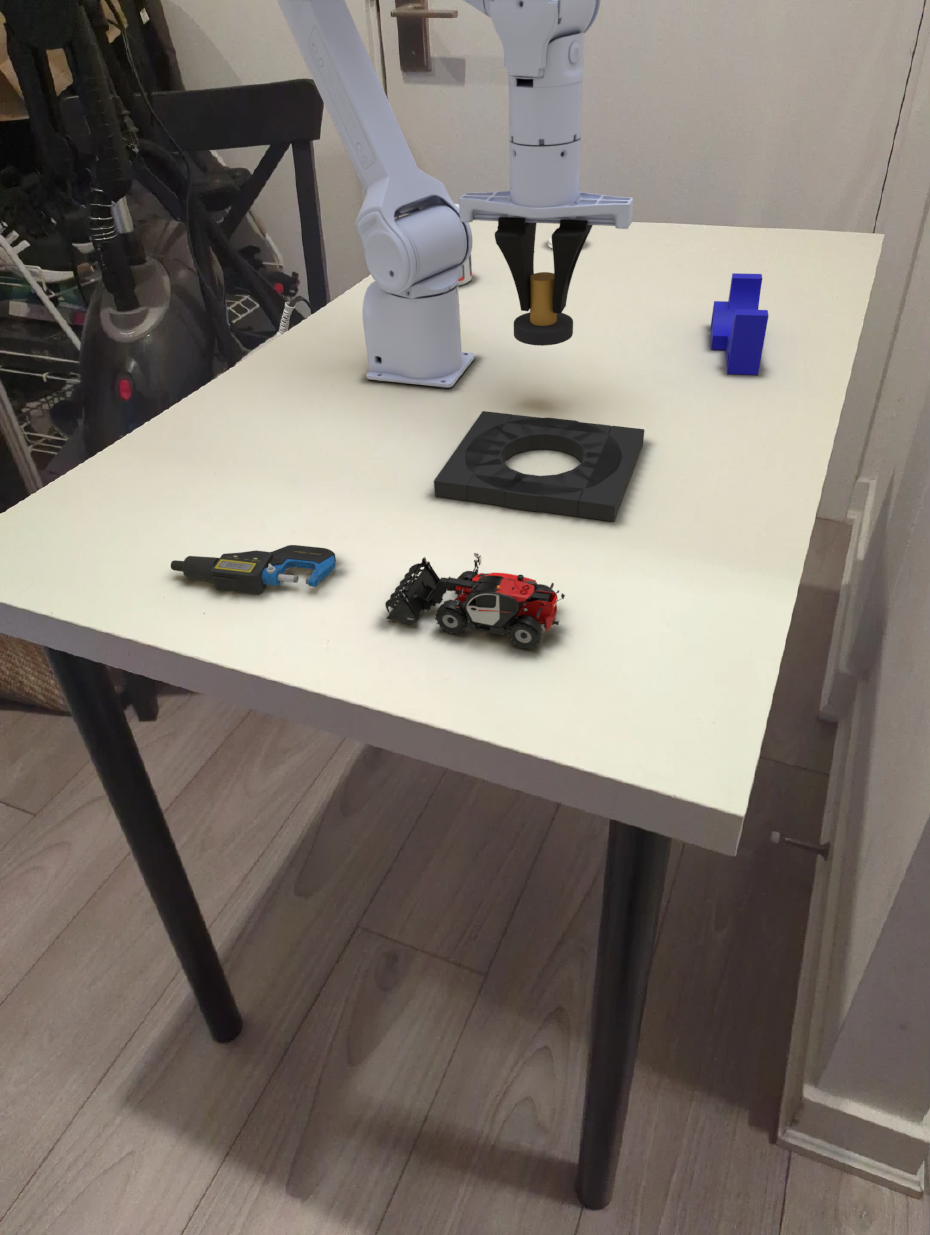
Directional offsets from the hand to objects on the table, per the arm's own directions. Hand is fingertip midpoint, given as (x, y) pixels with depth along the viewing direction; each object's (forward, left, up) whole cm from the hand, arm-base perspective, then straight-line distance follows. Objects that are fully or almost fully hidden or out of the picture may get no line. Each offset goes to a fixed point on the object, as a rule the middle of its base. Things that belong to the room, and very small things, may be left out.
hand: (543, 308), depth 78 cm
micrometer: (-14, -32, -10) cm, 36 cm away
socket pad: (+3, -12, -10) cm, 15 cm away
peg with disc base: (0, 0, -2) cm, 2 cm away
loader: (+4, -32, -10) cm, 34 cm away
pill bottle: (-21, +32, -10) cm, 40 cm away
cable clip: (+16, +17, -10) cm, 26 cm away
